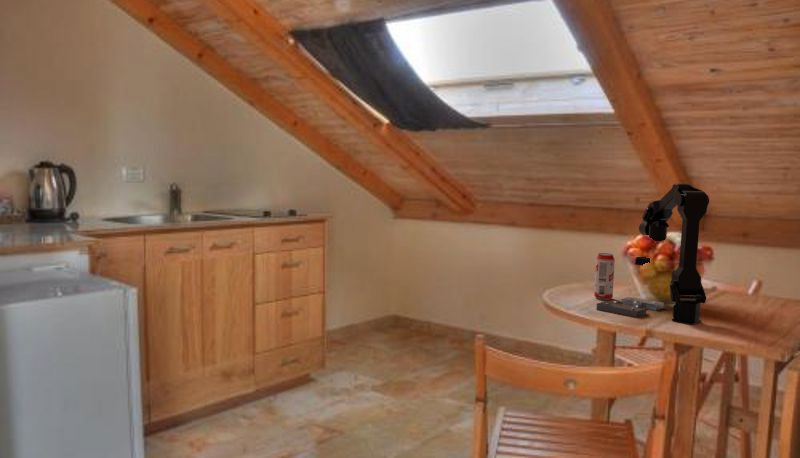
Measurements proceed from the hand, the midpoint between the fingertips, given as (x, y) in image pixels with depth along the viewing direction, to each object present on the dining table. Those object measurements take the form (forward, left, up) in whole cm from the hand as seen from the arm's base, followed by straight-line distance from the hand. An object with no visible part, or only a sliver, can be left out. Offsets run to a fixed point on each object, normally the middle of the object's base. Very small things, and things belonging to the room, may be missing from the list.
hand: (654, 284), depth 219 cm
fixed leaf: (0, +21, -7) cm, 22 cm away
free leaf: (0, +9, -7) cm, 11 cm away
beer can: (+15, +7, -7) cm, 18 cm away
